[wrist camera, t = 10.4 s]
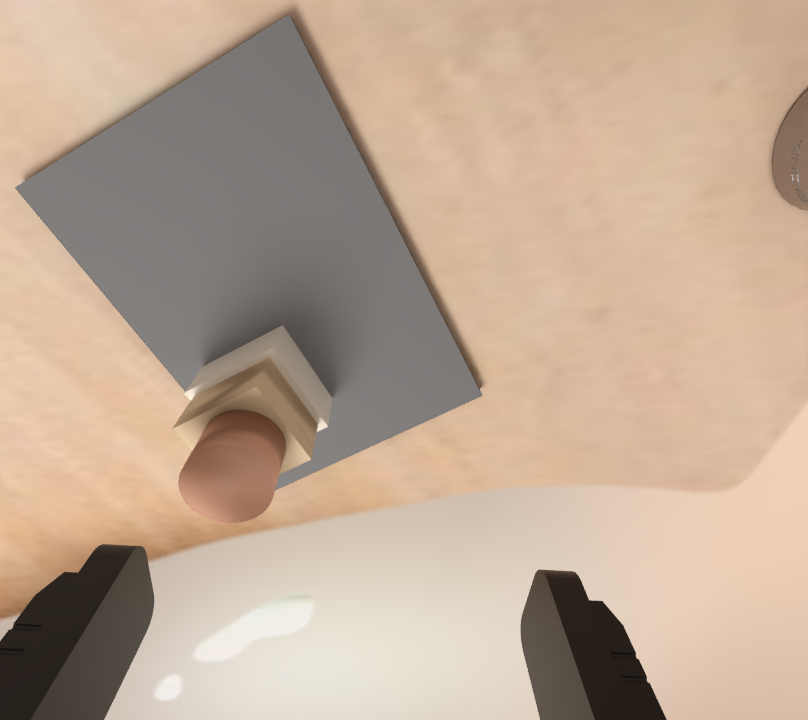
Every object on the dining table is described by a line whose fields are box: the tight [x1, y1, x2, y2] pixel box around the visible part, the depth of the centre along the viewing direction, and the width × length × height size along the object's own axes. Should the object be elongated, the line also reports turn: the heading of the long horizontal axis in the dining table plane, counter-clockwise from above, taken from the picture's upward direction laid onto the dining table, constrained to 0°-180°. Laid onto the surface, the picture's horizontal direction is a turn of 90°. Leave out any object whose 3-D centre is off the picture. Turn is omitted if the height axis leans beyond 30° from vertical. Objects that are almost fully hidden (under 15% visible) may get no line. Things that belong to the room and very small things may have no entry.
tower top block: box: [172, 357, 318, 474], centre depth 31 cm, size 6×6×4 cm
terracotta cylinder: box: [179, 410, 286, 523], centre depth 28 cm, size 5×5×4 cm
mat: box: [15, 14, 482, 490], centre depth 35 cm, size 20×28×1 cm
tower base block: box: [184, 325, 333, 432], centre depth 35 cm, size 7×7×4 cm
